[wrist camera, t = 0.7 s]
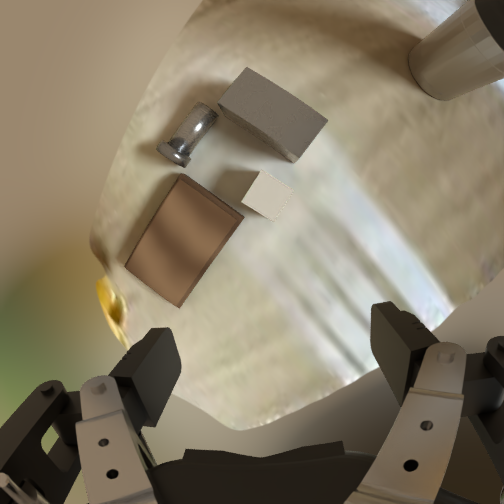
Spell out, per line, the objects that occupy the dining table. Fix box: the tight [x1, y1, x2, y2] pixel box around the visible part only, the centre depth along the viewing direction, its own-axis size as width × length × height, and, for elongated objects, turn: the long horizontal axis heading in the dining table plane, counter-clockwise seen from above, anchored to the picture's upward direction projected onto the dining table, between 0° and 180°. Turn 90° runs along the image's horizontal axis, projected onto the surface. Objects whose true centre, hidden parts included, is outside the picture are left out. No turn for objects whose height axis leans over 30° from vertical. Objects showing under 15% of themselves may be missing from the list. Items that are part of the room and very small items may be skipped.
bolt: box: [156, 102, 219, 168], centre depth 30 cm, size 7×4×4 cm, turn 144°
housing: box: [217, 67, 328, 163], centre depth 28 cm, size 5×10×6 cm, turn 54°
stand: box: [124, 173, 245, 308], centre depth 33 cm, size 14×9×2 cm, turn 144°
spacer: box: [241, 170, 294, 222], centre depth 31 cm, size 4×4×4 cm
